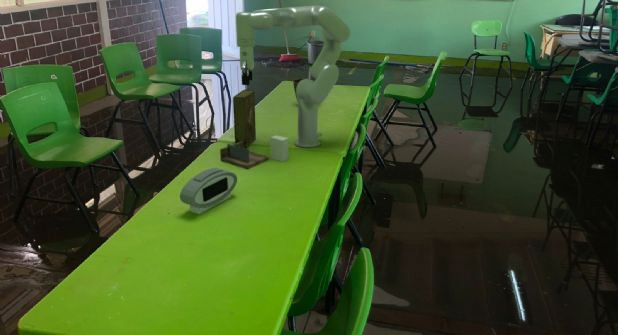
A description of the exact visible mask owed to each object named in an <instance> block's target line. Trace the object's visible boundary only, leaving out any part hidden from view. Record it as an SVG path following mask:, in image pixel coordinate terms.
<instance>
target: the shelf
mask: <svg viewBox="0 0 618 335" xmlns="http://www.w3.org/2000/svg"><path fill="white" fill-rule="evenodd" d="M219 151H220V152H219V153H220V162H223V163H227V164H230V165H232V166H236V167H239V168H243V169H246V170H249V169H251V168H253V167H256V166H258V165H261V164H262V163H265V162H267V161H269V159H270V158H269V156H267V155H265V154H260V153H258V152H254V151H250V149H248V148H247V149H246V148H244V141H241V142H238V143H235V142H234V143H233V144H231V143H227V144H226V146H225V147H223V148H220V150H219Z"/></svg>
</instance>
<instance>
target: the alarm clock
mask: <svg viewBox="0 0 618 335" xmlns="http://www.w3.org/2000/svg"><path fill="white" fill-rule="evenodd" d="M237 183H238V176H237V174H236V173H234V172H232V171H228V170H224V169H223V168H222V169H221V168H217V167H212V168H211V167H210V168H207V169H205V170H203V171H201V172H200V173H198V174H196V175H194V176H193V177H192V178H190V179H189V180H188V181H187V182H186V183H185V184H184V186H183V187H182V189H181V191H180V193H179V198H180V202H182V203H183V204H186V205H189V211H190V212H192V213H194V214H198V215H201V214H202V213H205V212H206V211H208V210H210V209H211V208H214V207H215V206H217V205H219V204H220V203H222V202H224V201H226V200H228V199H230V198H231V197H232V195H231V193H232V192H233V191H234V189H235V188H236V185H237Z"/></svg>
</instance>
